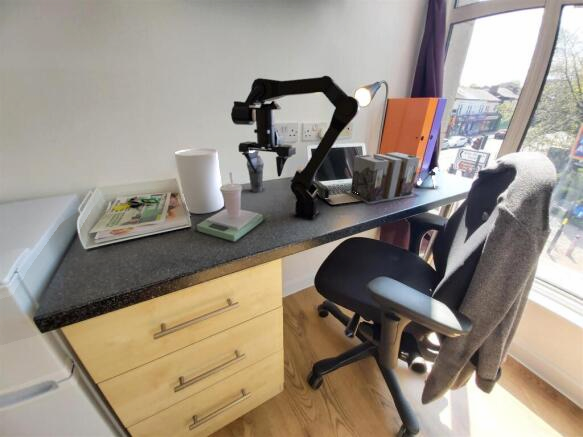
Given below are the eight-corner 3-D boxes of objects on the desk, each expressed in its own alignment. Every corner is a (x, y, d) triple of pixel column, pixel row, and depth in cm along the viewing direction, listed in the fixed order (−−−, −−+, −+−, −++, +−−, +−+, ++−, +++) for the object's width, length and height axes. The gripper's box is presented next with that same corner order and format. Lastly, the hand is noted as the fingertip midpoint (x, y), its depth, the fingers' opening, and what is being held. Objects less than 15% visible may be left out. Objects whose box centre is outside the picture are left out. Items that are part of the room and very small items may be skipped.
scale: (263, 220, 78) (263, 212, 77) (234, 241, 66) (233, 233, 64) (229, 212, 83) (229, 205, 82) (197, 230, 71) (195, 222, 70)
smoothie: (234, 222, 70) (229, 176, 64) (219, 217, 73) (212, 173, 67) (248, 214, 75) (245, 171, 69) (233, 210, 78) (229, 168, 72)
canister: (188, 201, 93) (178, 149, 84) (224, 198, 96) (217, 147, 87) (183, 215, 81) (170, 156, 72) (224, 211, 84) (216, 154, 75)
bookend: (416, 195, 100) (426, 156, 93) (368, 203, 91) (375, 161, 84) (389, 184, 113) (395, 150, 106) (345, 191, 104) (349, 154, 97)
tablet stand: (418, 182, 116) (422, 165, 113) (436, 185, 112) (441, 167, 109) (415, 186, 110) (419, 169, 106) (434, 190, 106) (439, 171, 102)
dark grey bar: (311, 180, 103) (326, 190, 90) (317, 179, 104) (333, 189, 91) (310, 191, 105) (325, 202, 92) (317, 190, 106) (332, 201, 93)
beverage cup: (262, 193, 101) (259, 145, 92) (246, 192, 103) (242, 144, 94) (267, 188, 108) (265, 142, 99) (252, 187, 109) (248, 142, 100)
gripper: (303, 125, 76) (302, 172, 83) (255, 122, 84) (257, 166, 90) (287, 127, 67) (287, 180, 74) (235, 125, 75) (239, 173, 81)
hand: (267, 174), depth 80 cm, fingers open, 9 cm apart
